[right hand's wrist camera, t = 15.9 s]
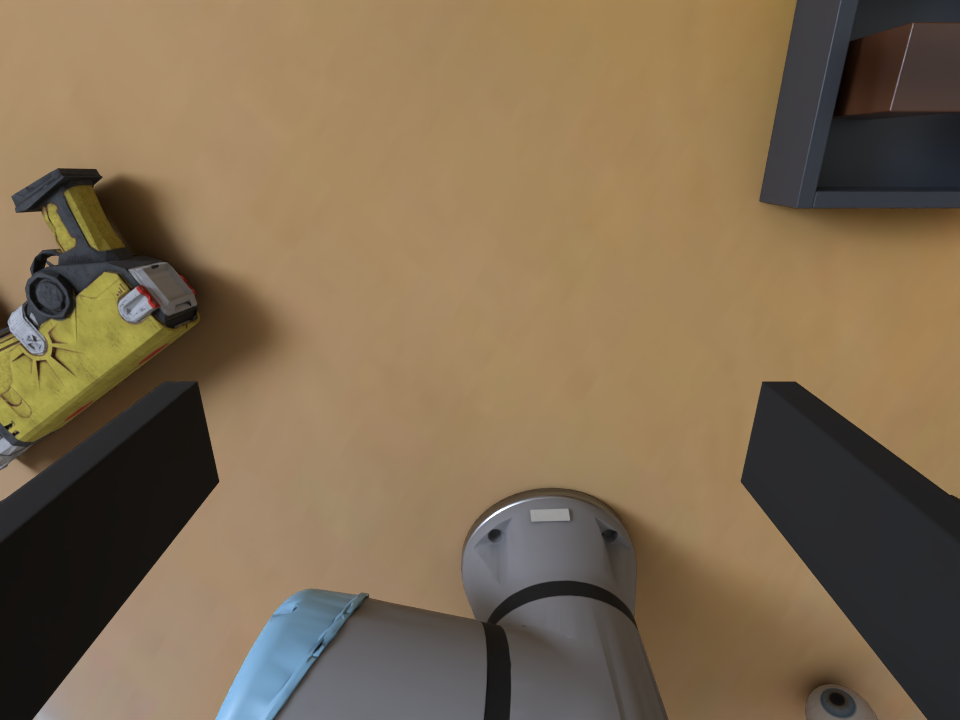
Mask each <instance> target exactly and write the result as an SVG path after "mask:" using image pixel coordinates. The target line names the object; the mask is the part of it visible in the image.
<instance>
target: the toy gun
mask: <svg viewBox="0 0 960 720" xmlns="http://www.w3.org/2000/svg"><path fill="white" fill-rule="evenodd" d="M101 178H102V176H100V174H99V173H98V171H97V170H96V169H63V168H58V169H56V170H54V171H52V172H50V173H49V174H47V175H45V176H44V177H42V178H40V179H39V180H37V181H35V182H34V183H32V184H30V185H29V186H27V187H26V188H24V189H22V190H21V191H19V192H17V193H16V194H14V195H13V196H11V197H12V199H13V201H14V204H15V206H16V208H15V210H16V213H20V212H36V211H41V212H42V214H43V217H44V219H45V222H46V223H47V224H48V226H49V227H50V229H51V230H52V232H53V234H54V236H55V239H56V242H57V244H58V246H59V247H60V249H52V250H42V251H41V252H40V253H39V254H38V255H37V256H36V257H35V259H34V261H33V263H32V265H31V268H30V270H31V274H32V276H31V278H29V279H28V281H27V284H26V287H25V291H26V296H27V301H26V302H25V303H24V304H23V305H22V306H20V307H19V308H18V309H17V310H15V311H14V312H12V314H11V316H10V318H9V320H8V325H9V326H8V327H6V328H4V329H2V330H0V470H2V469H4V468H5V467H7V466H8V464H9V463H10V462H11V461H12V460H14V459H15V458H17V457H18V456H20V455H22V454H24V452H25V450H27V449H28V448H29V447H31V446H32V445H33V444H35V443H37V442H38V441H40V440H42V438H44V437H46V436H48V435H50V434H52V433H54V432H56V431H57V430H59V429H60V428H61V427H63V426H64V425H65V424H67V423H68V422H69V421H71V420H72V419H73V418H74V417H76V416H77V415H78V414H80V413H81V412H82V411H84V410H85V409H86V408H88V407H89V406H90V405H91V404H93V403H94V402H95V401H97V400H98V399H99V398H101V397H102V396H103V395H105V394H106V393H107V392H108V391H110V390H111V389H112V388H114V387H115V386H116V385H118V384H119V383H120V382H122V381H123V380H124V379H125V378H127V377H128V376H129V375H131V374H132V373H133V372H135V371H136V370H137V369H139V368H140V367H141V366H143V365H144V364H145V363H146V362H148V361H149V360H150V359H152V358H153V357H154V356H156V355H157V354H158V353H160V352H161V351H162V350H163V349H165V348H166V347H167V346H169V345H170V344H171V343H173V342H174V341H175V340H177V339H178V338H179V337H180V336H182V335H183V334H184V333H186V332H187V331H188V330H190V329H191V328H192V327H194V326H195V325H196V324H197V323H198V322H199V321H200V316H199V312H198V311H197V307H198V304H197V301H196V298H195V294H196V291H195V290H194V288H193V287H191V286H189V285H188V284H187V280H186V278H185V277H184V276H183V275H182V274H180V275H178V273H177V272H176V271H175V270H174V268H173V267H172V266H171V265H170V264H169V263H166V262H163V261H162V260H159V259H155V258H152V257H149V256H133V255H132V254H131V252H130V251H129V250H128V249H127V248H126V247H125V246H124V244H123V243H122V242H121V240H120V239H119V238H118V236H117V235H116V234H115V232H114V231H113V229H112V227H111V225H110V223H109V222H108V220H107V218H106V216H105V214H104V212H103V210H102V208H101V205H100V203H99V201H98V199H97V196H96V194H95V192H94V190H93V187H94V186H93V185H94V184H95V183H97V182H98V181H99V180H100V179H101ZM56 255H57V256H59V263H58V265H55V266H54V265H53V264H51V263H50V262H48V261H47V258H49V257H50V256H56ZM46 263H47V264H48V265H49V266H50V267H46V268H45V264H46Z"/></svg>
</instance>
